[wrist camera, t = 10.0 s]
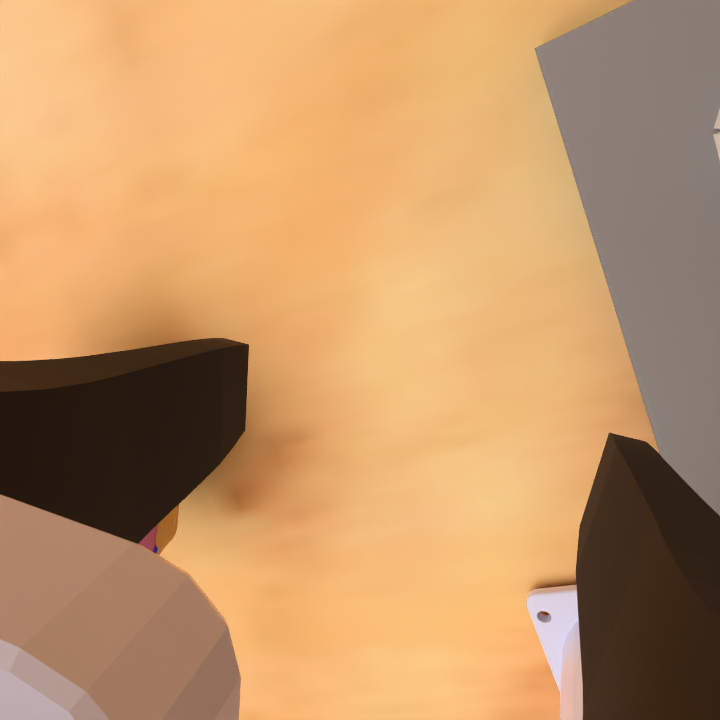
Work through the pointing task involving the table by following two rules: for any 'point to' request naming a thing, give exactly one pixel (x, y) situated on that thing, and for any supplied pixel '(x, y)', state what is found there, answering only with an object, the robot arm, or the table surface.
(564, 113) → the duct board
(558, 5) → the table surface
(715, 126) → the sleeve
